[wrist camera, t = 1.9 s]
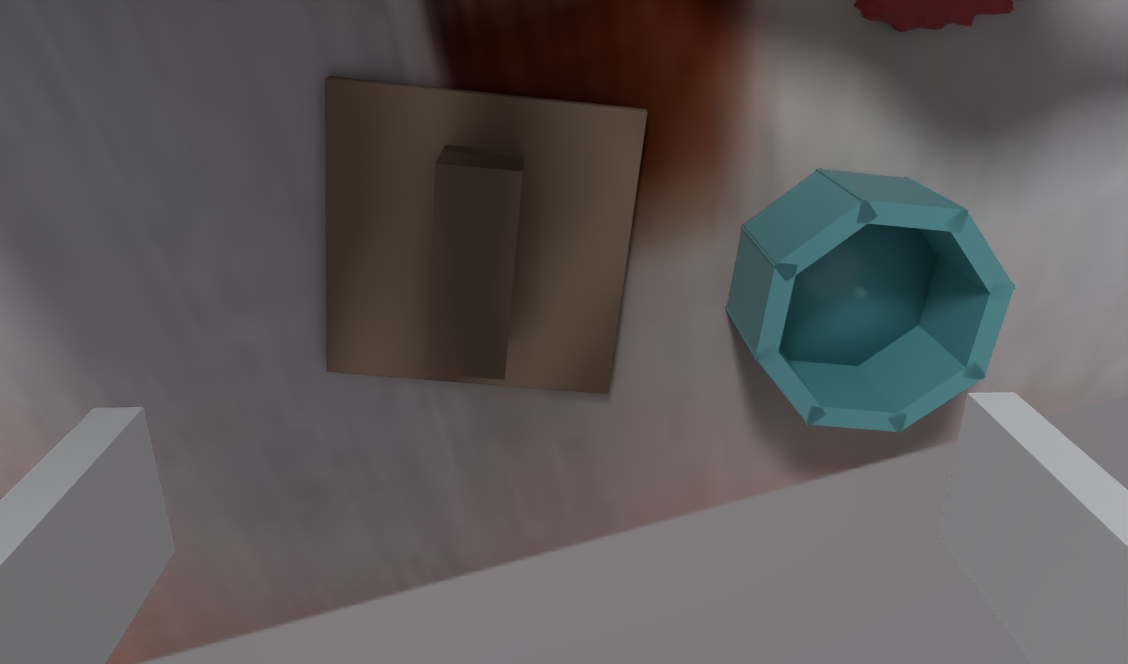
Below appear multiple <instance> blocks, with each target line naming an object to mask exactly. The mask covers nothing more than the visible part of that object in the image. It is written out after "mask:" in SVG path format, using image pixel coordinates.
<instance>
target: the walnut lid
mask: <svg viewBox="0 0 1128 664" xmlns="http://www.w3.org/2000/svg"><path fill="white" fill-rule="evenodd" d="M325 93H326V276H327V372H339V373H351V374H364V375H376V376H389V377H401V378H414V379H426V380H439V381H451V382H464V383H476V384H489V385H502V386H514V387H527V388H539V389H552V390H564V391H577V392H589V393H602V394H608V391H609V384H610V377H611V370H612V363H613V356H614V348H615V341H616V334H617V327H618V320H619V312H620V305H621V298H622V291H623V284H624V277H625V269H626V262H627V255H628V248H629V241H630V234H631V226H632V219H633V212H634V205H635V198H636V190H637V183H638V176H639V169H640V162H641V155H642V147H643V140H644V133H645V126H646V119H647V112H648V111H647V110H646V109H641V108H632V107H622V106H612V105H602V104H593V103H583V102H573V101H564V100H554V99H544V98H535V97H525V96H515V95H505V94H496V93H486V92H476V91H467V90H457V89H447V88H438V87H428V86H418V85H408V84H399V83H389V82H379V81H370V80H360V79H350V78H341V77H331V76H329V77H327V78H325Z"/></svg>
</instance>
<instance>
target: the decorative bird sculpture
mask: <svg viewBox="0 0 1128 664" xmlns="http://www.w3.org/2000/svg"><path fill="white" fill-rule="evenodd" d="M854 6H855V7H857V8H858V9H860V11H861V15H862V16H863V17H865V18H866V19H868V20H872V21H884V22H888V23H890V24H893V28H894V29H895V30H896V31H901V32H903V31H907V30H911V29H915V28H919V27H921V28H926V29H935V30H937V29H942V28H943V27H944V26H945V24H949V23H955V24H959V25H964V26H971V25H972V22H973V18H974V16H975V15H976V14H1002V13H1010V12H1012V11H1013V10H1014V9H1013V1H1012V0H857V1H856V3H855V4H854Z"/></svg>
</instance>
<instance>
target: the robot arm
mask: <svg viewBox="0 0 1128 664" xmlns="http://www.w3.org/2000/svg"><path fill="white" fill-rule="evenodd" d="M938 535H939V536H940V537H941V539H942V540H943V541H944V543H945V544H946V545H947V547H948V548H949V550H950V551H951V552H952V554H953V555H954V557H955V558H956V559H957V561H958V562H959V563H960V565H961V566H962V568H963V569H964V570H965V572H966V573H967V575H968V576H969V577H970V579H971V580H972V581H973V583H974V584H975V586H976V587H977V588H978V590H979V591H980V592H981V594H982V595H983V597H984V598H985V599H986V601H987V602H988V603H989V605H990V606H991V608H992V609H993V610H994V612H995V613H996V614H997V616H998V617H999V619H1000V620H1001V621H1002V623H1003V624H1004V625H1005V627H1006V628H1007V630H1008V631H1009V632H1010V634H1011V635H1012V636H1013V638H1014V639H1015V641H1016V642H1017V643H1018V645H1019V646H1020V647H1021V649H1022V650H1023V652H1024V653H1025V654H1026V656H1027V657H1028V659H1029V660H1030V661H1031V663H1032V664H1128V490H1127V489H1125V488H1124V487H1123V486H1122V485H1121V484H1120V483H1118V482H1117V481H1116V480H1115V479H1114V478H1113V477H1112V476H1110V475H1109V474H1108V473H1107V472H1106V471H1105V470H1104V469H1102V468H1101V467H1100V466H1099V465H1098V464H1097V463H1095V462H1094V461H1093V460H1092V459H1091V458H1090V457H1088V456H1087V455H1086V454H1085V453H1084V452H1083V451H1082V450H1080V449H1079V448H1078V447H1077V446H1076V445H1075V444H1074V443H1072V442H1071V441H1070V440H1069V439H1068V438H1066V437H1065V436H1064V435H1063V434H1062V433H1061V432H1060V431H1058V430H1057V429H1056V428H1055V427H1054V426H1053V425H1052V424H1050V423H1049V422H1048V421H1047V420H1046V419H1045V418H1043V417H1042V416H1041V415H1040V414H1039V413H1038V412H1037V411H1035V410H1034V409H1033V408H1032V407H1031V406H1030V405H1028V404H1027V403H1026V402H1025V401H1024V400H1023V399H1021V398H1020V397H1019V396H1018V395H1017V394H1016V393H1015V392H1001V393H968V394H967V399H966V404H965V408H964V413H963V418H962V423H961V427H960V432H959V437H958V441H957V446H956V451H955V456H954V460H953V465H952V470H951V475H950V480H949V484H948V489H947V494H946V498H945V503H944V508H943V512H942V517H941V522H940V527H939V531H938ZM175 551H176V549H175V545H174V540H173V536H172V531H171V527H170V523H169V518H168V514H167V509H166V505H165V500H164V496H163V491H162V487H161V482H160V478H159V474H158V469H157V465H156V460H155V456H154V451H153V447H152V442H151V438H150V434H149V429H148V425H147V420H146V416H145V411H144V407H116V408H93V409H92V410H91V411H90V412H89V413H88V414H87V415H86V416H85V417H84V418H83V419H82V420H81V421H80V422H79V423H78V424H77V425H76V426H75V427H74V428H73V429H72V430H71V431H70V432H69V433H68V434H67V435H66V436H65V437H64V438H63V439H62V440H61V441H60V442H59V443H58V444H57V445H56V446H55V447H54V448H53V449H52V450H51V451H50V452H48V453H47V454H46V455H45V456H44V457H43V458H42V459H41V460H40V461H39V462H38V463H37V464H36V465H35V466H34V467H33V468H32V469H31V470H30V471H29V472H28V473H27V474H26V475H25V476H24V477H23V478H22V479H21V480H20V481H19V482H18V483H17V484H16V485H15V486H14V487H13V488H12V489H11V490H10V491H9V492H8V493H7V494H6V495H5V496H4V497H3V498H2V499H1V500H0V664H106V662H107V661H108V659H109V657H110V656H111V654H112V653H113V651H114V649H115V648H116V646H117V644H118V643H119V641H120V640H121V638H122V636H123V635H124V633H125V632H126V630H127V628H128V627H129V625H130V624H131V622H132V620H133V619H134V617H135V616H136V614H137V612H138V611H139V609H140V608H141V606H142V604H143V603H144V601H145V599H146V598H147V596H148V595H149V593H150V591H151V590H152V588H153V587H154V585H155V583H156V582H157V580H158V579H159V577H160V575H161V574H162V572H163V571H164V569H165V567H166V566H167V564H168V562H169V561H170V559H171V558H172V556H173V554H174V553H175Z"/></svg>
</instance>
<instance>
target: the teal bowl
mask: <svg viewBox="0 0 1128 664" xmlns="http://www.w3.org/2000/svg"><path fill="white" fill-rule="evenodd" d="M1014 286H1015V284H1013V283H1012V282H1011V281H1010V279H1009V278H1008V276H1007V274H1006V273H1005V271H1004V270H1003V268H1002V266H1001V265H1000V263H999V262H998V260H997V258H996V257H995V255H994V254H993V252H992V250H991V249H990V247H989V246H988V244H987V242H986V241H985V239H984V238H983V236H982V234H981V233H980V231H979V230H978V228H977V226H976V225H975V223H974V222H973V220H972V218H971V217H970V215H969V214H968V210H967V209H965V208H963V207H962V206H960V205H958V204H956V203H954V202H952V201H950V200H948V199H947V198H945V197H943V196H941V195H939V194H937V193H935V192H933V191H932V190H930V189H928V188H926V187H924V186H922V185H920V184H918V183H917V182H915V181H913V180H911V179H909V178H907V177H905V178H899V177H889V176H879V175H869V174H860V173H850V172H840V171H830V170H822V169H821V168H820V169H816V172H814V173H813V174H811V175H810V176H809V177H807V178H806V179H805V180H803V181H802V182H801V183H799V184H798V185H797V186H795V187H794V188H793V189H791V190H790V191H789V192H787V193H786V194H785V195H783V196H782V197H781V198H779V199H778V200H777V201H775V202H774V203H773V204H771V205H770V206H769V207H767V208H766V209H765V210H763V211H762V212H761V213H759V214H758V215H757V216H755V217H754V218H753V219H751V220H750V221H749V222H747V223H746V224H743V226H742V232H741V237H740V243H739V248H738V253H737V258H736V263H735V268H734V273H733V279H732V284H731V289H730V294H729V299H728V304H727V307H726V311H727V313H728V315H729V316H730V318H731V320H732V321H733V323H734V325H735V327H736V328H737V330H738V332H739V334H740V335H741V337H742V339H743V340H744V342H745V344H746V346H747V347H748V349H749V351H750V353H751V354H752V356H753V358H754V359H755V360H757V361H758V362H759V364H760V365H761V366H762V367H763V369H764V370H765V371H766V372H767V374H768V375H769V376H770V377H771V379H772V380H773V381H774V382H775V384H776V385H777V386H778V387H779V389H780V390H781V391H782V393H783V394H784V395H785V396H786V398H787V399H788V400H789V401H790V403H791V404H792V405H793V406H794V408H795V409H796V410H797V411H798V413H799V414H800V415H801V417H802V419H803V420H804V422H805V424H806V425H809V426H810V425H817V426H830V427H843V428H855V429H868V430H881V431H893V432H898V433H899V432H902V430H904V429H905V428H907V427H908V426H910V425H912V424H913V423H915V422H916V421H918V420H919V419H921V418H922V417H924V416H925V415H927V414H929V413H930V412H932V411H933V410H935V409H936V408H938V407H939V406H941V405H942V404H944V403H945V402H947V401H949V400H950V399H952V398H953V397H955V396H956V395H958V394H959V393H961V392H962V391H964V390H966V389H967V388H969V387H970V386H972V385H973V384H975V383H976V382H978V381H979V380H981V379H984V377H986V376H985V373H986V370H987V367H988V364H989V361H990V358H991V355H992V352H993V349H994V346H995V343H996V340H997V337H998V334H999V331H1000V328H1001V325H1002V322H1003V319H1004V316H1005V313H1006V310H1007V307H1008V304H1009V301H1010V298H1011V295H1012V292H1013V289H1015V287H1014Z"/></svg>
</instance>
